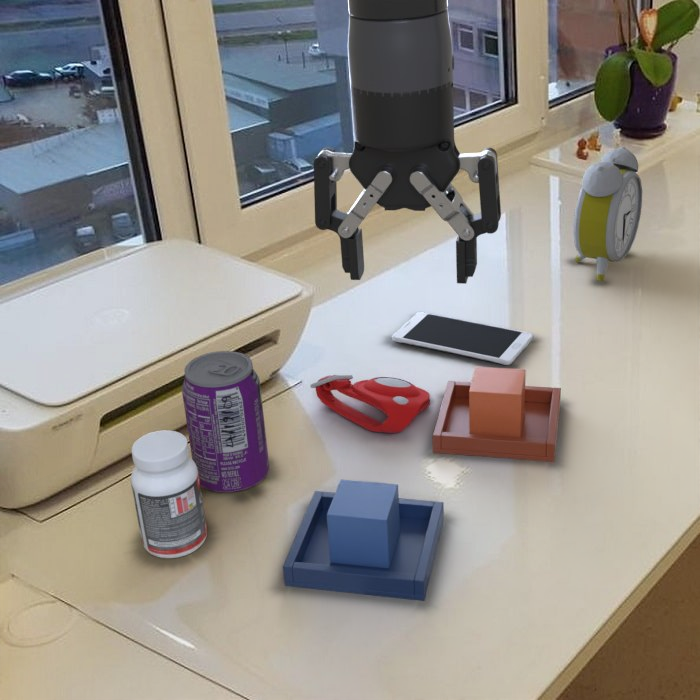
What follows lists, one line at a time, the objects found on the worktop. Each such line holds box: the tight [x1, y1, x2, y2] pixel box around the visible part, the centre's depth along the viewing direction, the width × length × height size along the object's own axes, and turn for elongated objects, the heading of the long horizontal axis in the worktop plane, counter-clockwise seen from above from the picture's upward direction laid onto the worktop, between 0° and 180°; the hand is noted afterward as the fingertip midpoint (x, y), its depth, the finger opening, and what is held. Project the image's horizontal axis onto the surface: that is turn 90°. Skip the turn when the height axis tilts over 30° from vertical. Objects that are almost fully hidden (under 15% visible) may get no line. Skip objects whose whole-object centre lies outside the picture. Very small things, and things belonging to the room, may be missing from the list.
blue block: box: [327, 479, 400, 569], centre depth 89 cm, size 5×5×5 cm
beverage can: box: [181, 350, 270, 493], centre depth 99 cm, size 7×7×12 cm
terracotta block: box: [469, 366, 527, 438], centre depth 105 cm, size 5×5×5 cm
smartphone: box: [391, 311, 535, 366], centre depth 123 cm, size 8×1×15 cm
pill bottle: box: [130, 429, 208, 559], centre depth 91 cm, size 6×6×10 cm
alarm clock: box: [573, 146, 643, 282], centre depth 136 cm, size 12×7×15 cm, turn 148°
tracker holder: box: [310, 374, 431, 434], centre depth 109 cm, size 12×4×10 cm
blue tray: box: [282, 490, 445, 602], centre depth 90 cm, size 12×11×2 cm
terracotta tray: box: [432, 380, 562, 463], centre depth 106 cm, size 12×11×2 cm
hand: (410, 278), depth 85 cm, fingers open, 8 cm apart
